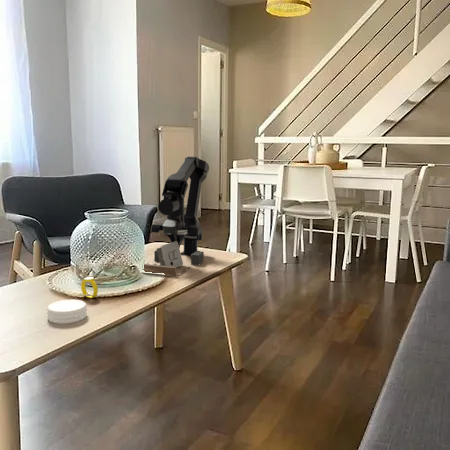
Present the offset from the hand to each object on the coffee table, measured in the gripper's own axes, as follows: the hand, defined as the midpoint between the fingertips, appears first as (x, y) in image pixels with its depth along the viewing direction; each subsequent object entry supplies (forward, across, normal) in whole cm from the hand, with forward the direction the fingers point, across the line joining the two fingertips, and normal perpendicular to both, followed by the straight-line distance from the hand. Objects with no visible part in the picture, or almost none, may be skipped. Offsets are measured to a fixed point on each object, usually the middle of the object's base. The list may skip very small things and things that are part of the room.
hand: (176, 251), depth 185 cm
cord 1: (+5, -8, +3) cm, 9 cm away
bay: (+4, 0, -10) cm, 11 cm away
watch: (+4, -10, -45) cm, 47 cm away
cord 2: (+5, +7, +3) cm, 9 cm away
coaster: (+4, -7, -61) cm, 62 cm away
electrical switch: (+5, 0, -7) cm, 8 cm away
